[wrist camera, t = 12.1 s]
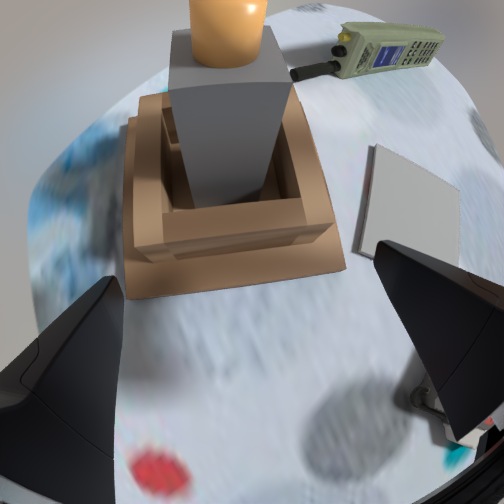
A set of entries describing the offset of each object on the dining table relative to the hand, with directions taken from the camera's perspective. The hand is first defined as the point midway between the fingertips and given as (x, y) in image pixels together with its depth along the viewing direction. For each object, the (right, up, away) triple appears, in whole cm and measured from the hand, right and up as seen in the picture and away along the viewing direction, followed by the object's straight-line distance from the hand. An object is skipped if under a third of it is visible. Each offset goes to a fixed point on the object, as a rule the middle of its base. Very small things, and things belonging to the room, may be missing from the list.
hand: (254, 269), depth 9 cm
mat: (+14, +3, +11) cm, 18 cm away
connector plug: (-2, +5, +9) cm, 11 cm away
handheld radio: (+14, +22, +16) cm, 31 cm away
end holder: (-2, +5, +10) cm, 12 cm away
